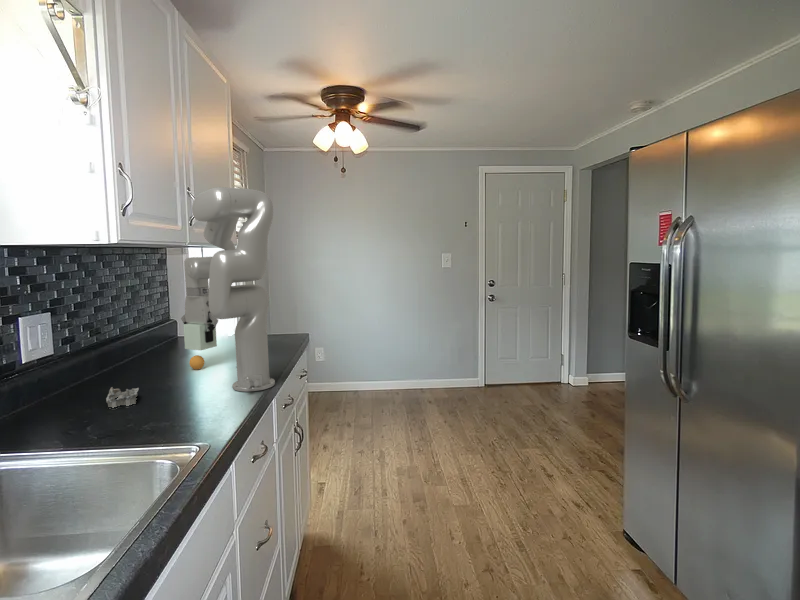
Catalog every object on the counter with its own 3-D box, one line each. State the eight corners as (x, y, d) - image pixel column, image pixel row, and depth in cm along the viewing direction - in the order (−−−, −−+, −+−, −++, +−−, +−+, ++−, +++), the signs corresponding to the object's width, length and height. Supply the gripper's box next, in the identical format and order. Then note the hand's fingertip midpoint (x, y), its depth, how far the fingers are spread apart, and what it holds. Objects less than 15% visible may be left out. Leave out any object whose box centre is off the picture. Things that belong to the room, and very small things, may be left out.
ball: (209, 358, 176) (202, 370, 173) (204, 361, 179) (197, 373, 177) (196, 351, 174) (189, 363, 171) (191, 354, 177) (184, 366, 174)
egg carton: (111, 400, 143) (110, 386, 142) (140, 396, 145) (139, 383, 145) (104, 411, 133) (103, 396, 132) (135, 407, 135) (134, 393, 135)
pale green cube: (200, 350, 171) (199, 325, 170) (185, 348, 174) (183, 324, 173) (216, 346, 178) (215, 322, 177) (201, 344, 181) (199, 321, 180)
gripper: (224, 291, 174) (227, 340, 176) (187, 290, 181) (190, 337, 183) (208, 294, 167) (211, 345, 169) (171, 292, 174) (174, 341, 176)
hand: (200, 340), depth 176 cm, fingers closed on pale green cube, 7 cm apart
